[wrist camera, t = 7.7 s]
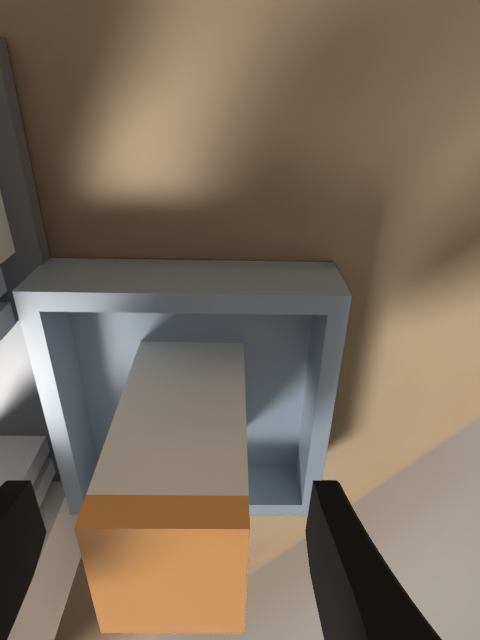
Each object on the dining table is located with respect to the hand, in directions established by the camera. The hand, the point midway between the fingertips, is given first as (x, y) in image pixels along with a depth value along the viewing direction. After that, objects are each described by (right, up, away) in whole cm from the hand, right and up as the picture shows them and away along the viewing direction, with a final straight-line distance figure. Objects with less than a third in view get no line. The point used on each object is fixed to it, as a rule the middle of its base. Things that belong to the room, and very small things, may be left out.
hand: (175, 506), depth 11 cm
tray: (0, +3, +5) cm, 6 cm away
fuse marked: (0, +2, +4) cm, 5 cm away
